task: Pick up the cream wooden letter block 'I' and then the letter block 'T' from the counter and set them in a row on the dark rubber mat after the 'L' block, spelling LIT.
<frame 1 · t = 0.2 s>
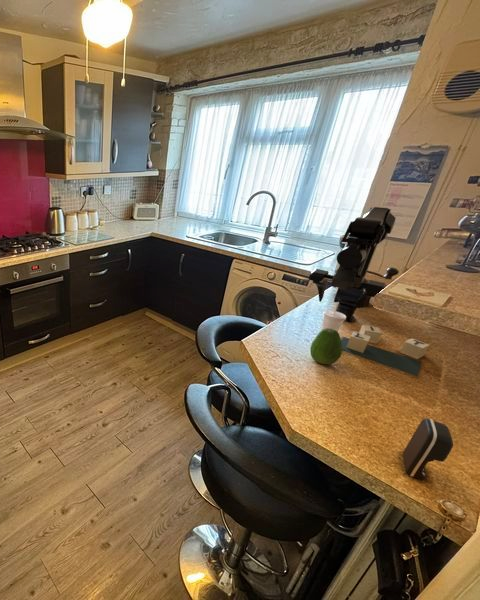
hand: (336, 305, 105), 15 cm above the countertop, tool pointing down, fingers open, 9 cm apart
word mat: (376, 355, 104), on the countertop
smoothie: (326, 338, 114), on the countertop
battery charger: (414, 469, 67), on the countertop
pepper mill: (357, 302, 142), on the countertop
tile T: (411, 354, 105), on the countertop
avocado: (320, 363, 101), on the countertop
tile L: (355, 347, 108), resting on word mat
tile I: (367, 339, 113), on the countertop
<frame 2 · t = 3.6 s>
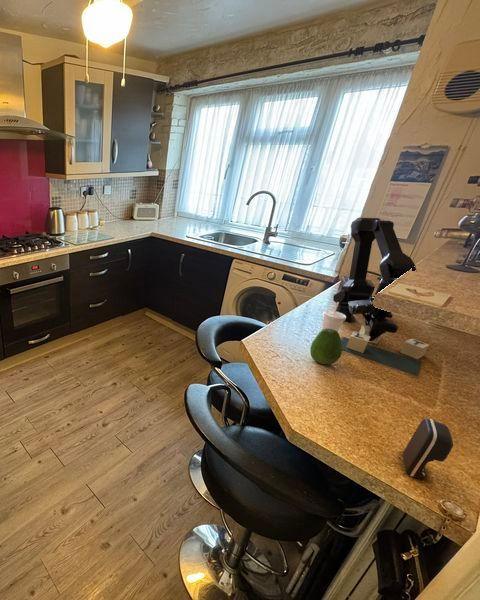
hand: (368, 337, 113), 1 cm above the countertop, tool pointing down, fingers closed on tile I, 4 cm apart
tile I: (367, 339, 113), on the countertop, touching gripper
everything else where it was.
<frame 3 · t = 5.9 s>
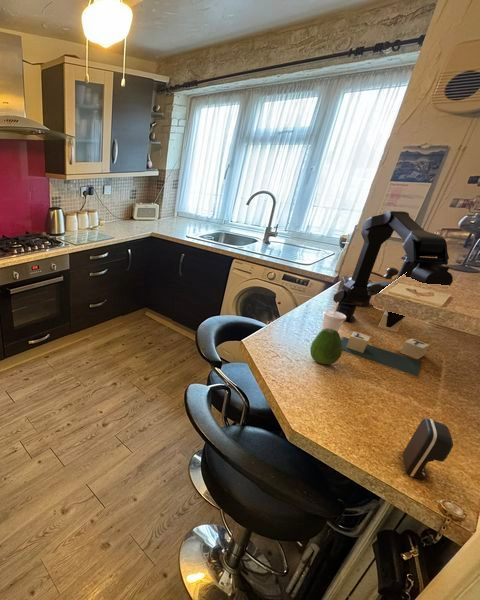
hand: (389, 324, 101), 11 cm above the countertop, tool pointing down, fingers closed on tile I, 4 cm apart
tile I: (388, 327, 102), point 10 cm above the countertop, touching gripper
everything else where it was.
when the fingers open (1 cm above the countertop, at t = 8.6 s): tile I stays where it is, resting on word mat.
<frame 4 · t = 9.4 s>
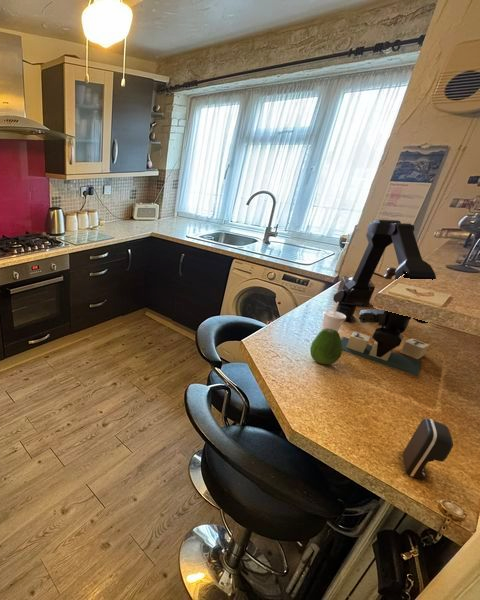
hand: (380, 351, 103), 2 cm above the countertop, tool pointing down, fingers open, 9 cm apart
tile I: (379, 355, 104), resting on word mat
everything else where it was.
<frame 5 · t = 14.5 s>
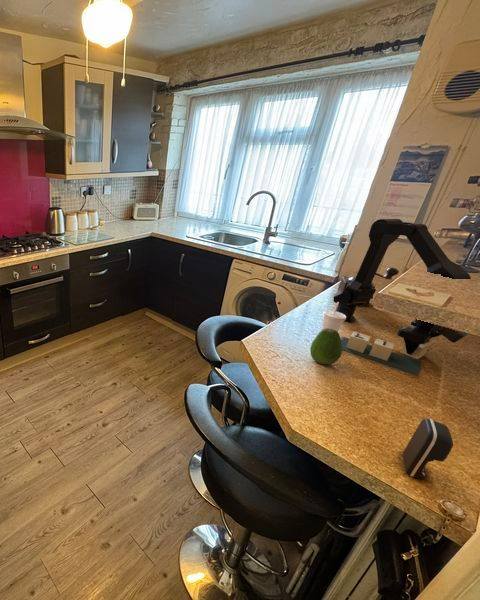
hand: (412, 352, 104), 1 cm above the countertop, tool pointing down, fingers closed on tile T, 4 cm apart
tile T: (411, 354, 105), on the countertop, touching gripper
everything else where it was.
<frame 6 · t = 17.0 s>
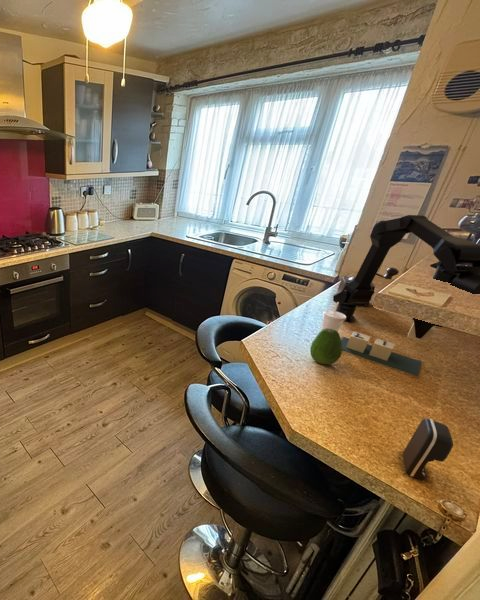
hand: (419, 335, 96), 10 cm above the countertop, tool pointing down, fingers closed on tile T, 4 cm apart
tile T: (417, 338, 97), point 9 cm above the countertop, touching gripper
everything else where it was.
when the fingers open (1 cm above the countertop, at t = 19.4 s): tile T stays where it is, resting on word mat.
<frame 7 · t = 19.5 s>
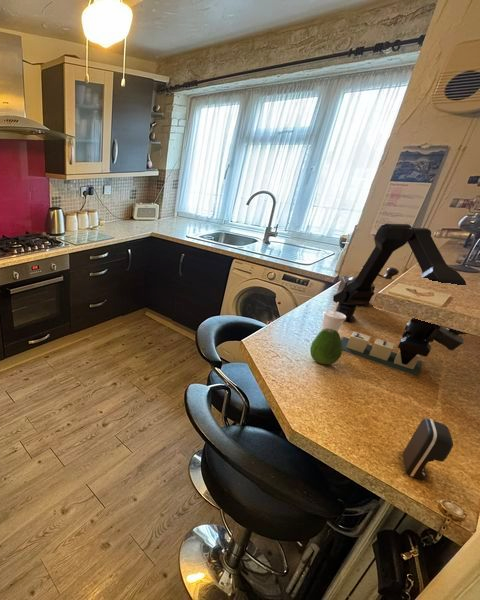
hand: (405, 360, 100), 1 cm above the countertop, tool pointing down, fingers open, 4 cm apart
tile T: (404, 363, 100), resting on word mat
everything else where it was.
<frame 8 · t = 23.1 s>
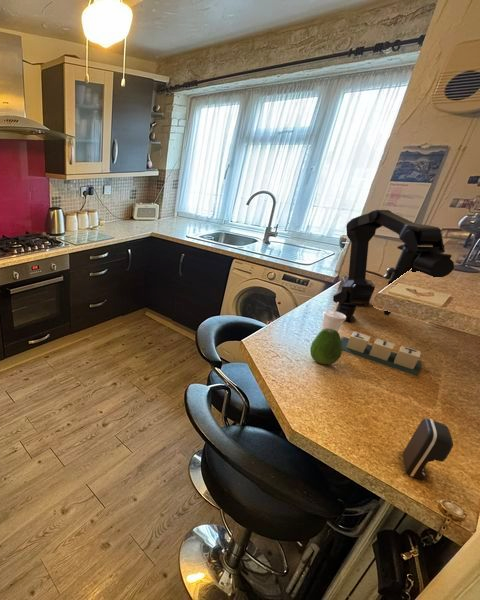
hand: (388, 310, 107), 12 cm above the countertop, tool pointing down, fingers open, 9 cm apart
nothing on the countertop moved.
at the end: tile I 0.0 cm from the target spot, resting on word mat; tile T 0.1 cm from the target spot, resting on word mat; tile L moved 0.0 cm from its start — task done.
